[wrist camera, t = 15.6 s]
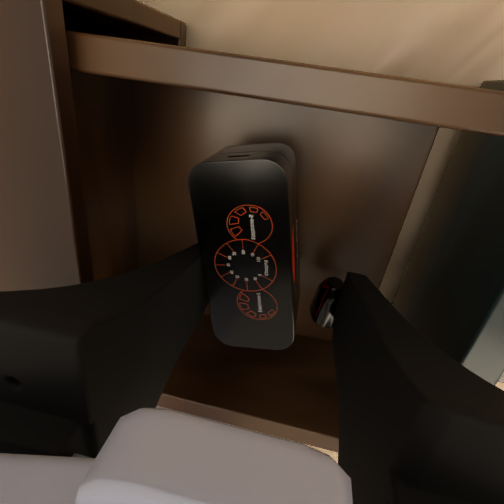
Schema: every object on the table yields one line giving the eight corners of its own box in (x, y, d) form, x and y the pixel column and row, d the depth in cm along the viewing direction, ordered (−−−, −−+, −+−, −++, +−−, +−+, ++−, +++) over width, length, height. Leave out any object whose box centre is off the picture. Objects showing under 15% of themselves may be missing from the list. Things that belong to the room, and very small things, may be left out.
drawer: (701, 110, 11) (1092, 135, 5) (504, 388, 17) (592, 531, 11) (122, 31, 13) (-25, -10, 7) (135, 304, 19) (61, 392, 13)
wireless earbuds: (239, 309, 15) (218, 362, 12) (218, 143, 12) (183, 162, 9) (347, 314, 14) (352, 374, 11) (356, 134, 11) (365, 153, 8)
